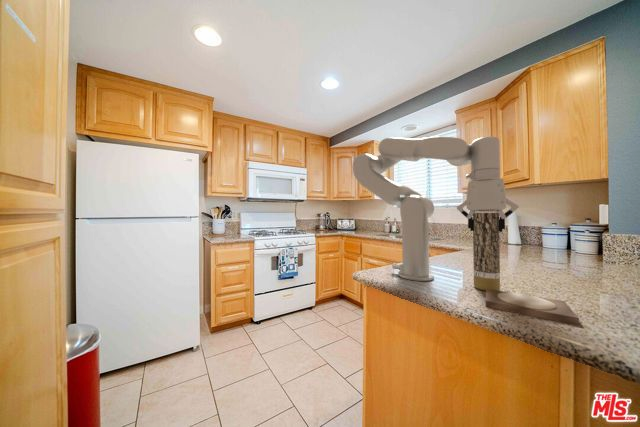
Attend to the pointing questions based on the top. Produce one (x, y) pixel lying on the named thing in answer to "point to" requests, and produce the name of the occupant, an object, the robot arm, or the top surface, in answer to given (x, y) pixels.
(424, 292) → the top surface
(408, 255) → the robot arm
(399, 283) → the top surface
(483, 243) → the brown cylinder
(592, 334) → the top surface
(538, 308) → the walnut board
